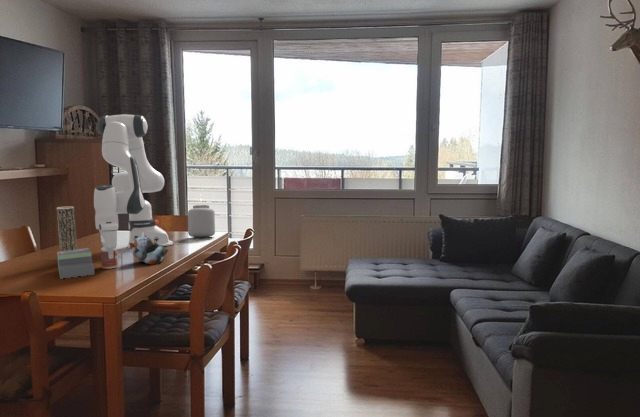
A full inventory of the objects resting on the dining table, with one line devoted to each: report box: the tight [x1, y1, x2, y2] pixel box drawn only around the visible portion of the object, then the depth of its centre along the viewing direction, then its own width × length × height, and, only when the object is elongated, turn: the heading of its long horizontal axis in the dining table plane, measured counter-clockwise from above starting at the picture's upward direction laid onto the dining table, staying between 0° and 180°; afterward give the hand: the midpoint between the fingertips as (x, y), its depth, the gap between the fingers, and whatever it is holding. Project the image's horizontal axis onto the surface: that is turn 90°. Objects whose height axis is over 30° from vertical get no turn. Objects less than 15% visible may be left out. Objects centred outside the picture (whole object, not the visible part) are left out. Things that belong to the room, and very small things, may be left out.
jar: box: [187, 194, 216, 238], centre depth 270 cm, size 19×15×25 cm
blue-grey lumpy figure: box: [128, 235, 169, 266], centre depth 209 cm, size 15×12×14 cm
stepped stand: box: [56, 247, 96, 280], centre depth 193 cm, size 12×17×8 cm
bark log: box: [56, 205, 78, 251], centre depth 211 cm, size 7×7×25 cm
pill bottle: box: [100, 242, 119, 270], centre depth 201 cm, size 6×6×11 cm
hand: (109, 256), depth 201 cm, fingers open, 8 cm apart
